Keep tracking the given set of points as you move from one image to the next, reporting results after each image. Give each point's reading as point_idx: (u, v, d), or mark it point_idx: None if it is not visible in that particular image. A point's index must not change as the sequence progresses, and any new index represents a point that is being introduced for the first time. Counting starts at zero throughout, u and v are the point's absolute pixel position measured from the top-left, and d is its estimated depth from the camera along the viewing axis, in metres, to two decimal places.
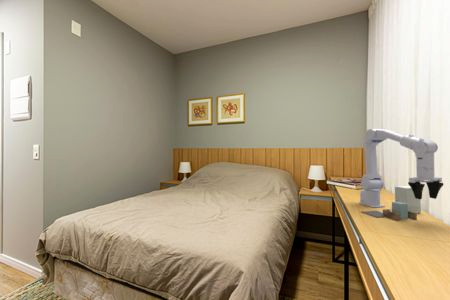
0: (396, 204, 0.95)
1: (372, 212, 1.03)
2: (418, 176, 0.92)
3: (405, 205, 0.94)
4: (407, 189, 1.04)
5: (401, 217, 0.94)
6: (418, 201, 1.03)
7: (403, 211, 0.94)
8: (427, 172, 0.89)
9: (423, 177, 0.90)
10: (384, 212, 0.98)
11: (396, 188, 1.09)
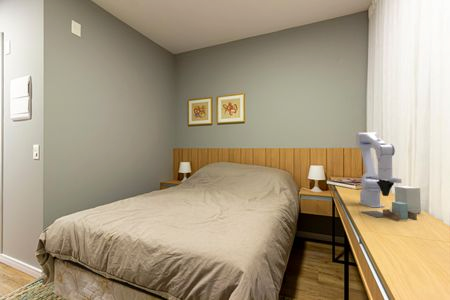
0: (396, 204, 0.95)
1: (372, 212, 1.03)
2: None
3: (405, 205, 0.94)
4: (407, 189, 1.04)
5: (401, 217, 0.94)
6: (418, 201, 1.03)
7: (403, 211, 0.94)
8: (378, 171, 1.04)
9: None
10: (384, 212, 0.98)
11: (396, 188, 1.09)
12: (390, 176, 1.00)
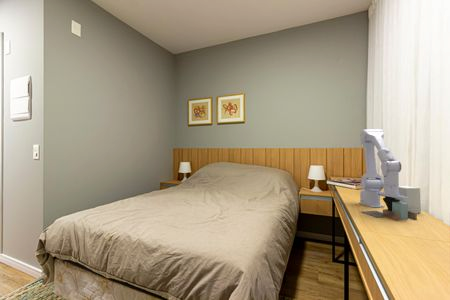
0: (396, 204, 0.95)
1: (372, 212, 1.03)
2: None
3: (405, 205, 0.94)
4: (407, 189, 1.04)
5: (401, 217, 0.94)
6: (418, 201, 1.03)
7: (404, 211, 0.94)
8: (384, 188, 1.01)
9: None
10: (384, 212, 0.98)
11: None
12: (396, 193, 0.97)
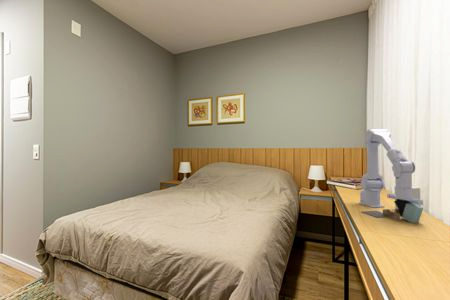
0: (410, 207, 0.89)
1: (372, 212, 1.03)
2: None
3: (420, 209, 0.88)
4: None
5: (412, 220, 0.89)
6: None
7: (416, 215, 0.89)
8: None
9: None
10: (384, 212, 0.98)
11: None
12: (410, 196, 0.91)
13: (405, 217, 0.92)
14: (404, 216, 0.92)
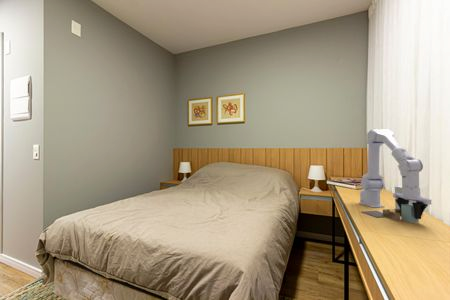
0: (406, 206, 0.91)
1: (372, 212, 1.03)
2: None
3: None
4: None
5: (411, 220, 0.89)
6: None
7: (414, 214, 0.90)
8: (402, 189, 0.93)
9: None
10: (384, 212, 0.98)
11: (396, 188, 1.09)
12: (417, 195, 0.88)
13: (404, 218, 0.92)
14: (403, 218, 0.92)
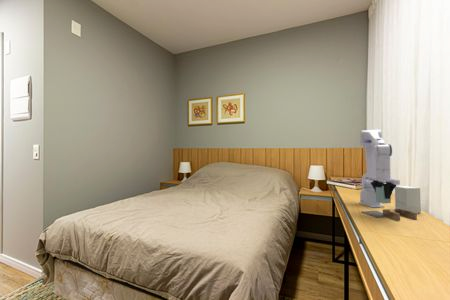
0: (379, 189, 0.99)
1: (372, 212, 1.03)
2: None
3: None
4: (407, 189, 1.04)
5: (384, 201, 0.97)
6: (418, 201, 1.03)
7: None
8: (375, 172, 1.01)
9: None
10: (384, 212, 0.98)
11: (396, 188, 1.09)
12: (388, 177, 0.97)
13: (378, 200, 0.99)
14: (377, 199, 1.00)
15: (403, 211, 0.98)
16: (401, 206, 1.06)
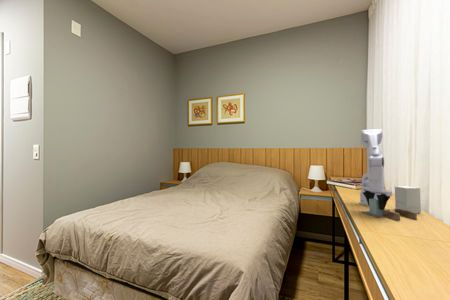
0: (373, 200, 1.01)
1: None
2: None
3: None
4: (407, 189, 1.04)
5: (377, 213, 0.99)
6: (418, 201, 1.03)
7: None
8: (369, 183, 1.03)
9: None
10: (384, 212, 0.98)
11: (396, 188, 1.09)
12: (381, 188, 0.99)
13: (371, 211, 1.02)
14: (370, 211, 1.02)
15: (403, 211, 0.98)
16: (401, 206, 1.06)
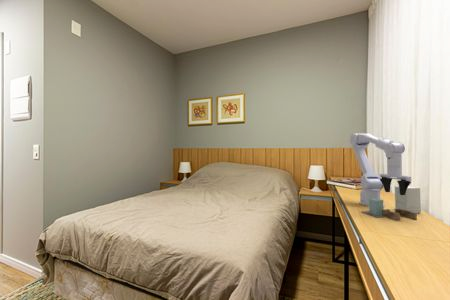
0: (373, 200, 1.01)
1: None
2: None
3: (381, 201, 1.00)
4: (407, 189, 1.04)
5: (377, 213, 0.99)
6: (418, 201, 1.03)
7: (379, 207, 0.99)
8: (387, 169, 1.05)
9: None
10: (384, 212, 0.98)
11: (396, 188, 1.09)
12: (400, 174, 1.01)
13: (371, 211, 1.02)
14: (370, 211, 1.02)
15: (403, 211, 0.98)
16: (401, 206, 1.06)
